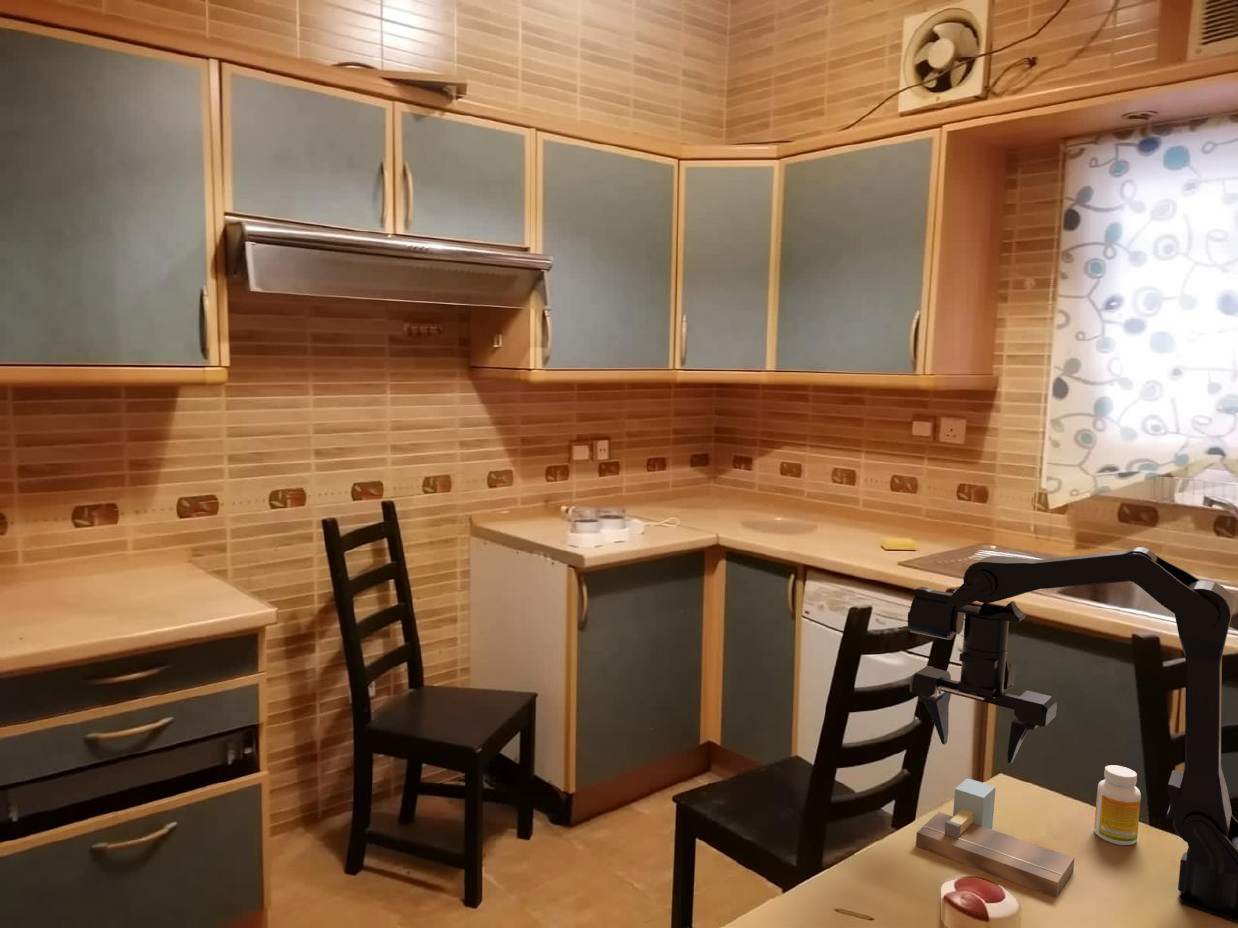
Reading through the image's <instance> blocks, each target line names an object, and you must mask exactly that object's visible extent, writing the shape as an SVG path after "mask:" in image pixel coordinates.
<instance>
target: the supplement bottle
mask: <svg viewBox="0 0 1238 928" xmlns="http://www.w3.org/2000/svg"><path fill="white" fill-rule="evenodd" d="M1103 773H1104V774H1103V776H1104V777H1103V778H1104V779H1103V780H1100V781H1099V782H1098V784H1097V793H1096V804H1095V814H1094V815H1095V816H1094V825H1093V827H1094V833H1095V835H1097V836H1098V837H1099V838H1101V839H1102V840H1104V841H1106V842H1108V843H1112V844H1114V845H1118V846H1119V845H1121V846H1130V845H1134V844H1135V843H1137V841H1138V834H1139V823H1140V822H1139V821H1140V811H1141V801H1142V800H1141V799H1142V794H1141V791H1140V789H1139V788H1138V787H1137V786H1136V785H1137V781H1138V774H1137V772H1136V771H1134V770H1132V769H1131V768H1128V767H1125V766H1122V765H1115V764H1113V765H1112V764H1111V765H1109V764H1108V765H1106V766H1105V767H1104V772H1103Z"/></svg>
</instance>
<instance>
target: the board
mask: <svg viewBox="0 0 1238 928" xmlns="http://www.w3.org/2000/svg"><path fill="white" fill-rule="evenodd" d="M952 818H953V815H950V814H946V813H944V812H941V811H938V812H937V813H935V814H934V815H933V816H932V817H931V818H930V819H929V820H928V821H927V822H926V823H925V824H924V825H922V827H921V828H920V829H918V830H917V831H916V836H915V837H916V838H915V847H917V848H920V849H923V850H926V851H928V852H930V853H934V854H936V855H939V856H942V857H945V858H948V859H949V860H953V861H955V862H958V863H961V864H962V865H963V864H964V865H966V866H969V867H972V868H975V869H977V870H979V871H982V872H985V873H988V874H991V875H993V876H996V877H998V878H1000V879H1004V880H1006V881H1010V882H1013V883H1015V884H1018V885H1020V886H1024V887H1026V888H1029V889H1031V890H1034V891H1037V892H1039V893H1042V894H1045V895H1048V896H1050V897H1052V898H1057V897H1058V896H1059V895H1060V893H1061V891H1062V890H1063V888H1064V887H1065V885H1066V884H1067V882H1068V881H1069V879H1070V878H1071V876H1072V875H1073V873H1074V867H1075V857H1074V856H1071V855H1068V854H1065V853H1062V852H1059V851H1056V850H1053V849H1051V848H1048V847H1044V846H1041V845H1038V844H1035V843H1032V842H1029V841H1026V840H1023V839H1020V838H1018V837H1014V836H1012V835H1009V834H1005V833H1002V832H999V831H996V830H994V829H992V828H991V829H988V828H985V827H982V826H979V825H976V824H973V823H972V824H971V825H970V826H969V827H968V828H967V829H966V830H965V831H964V832H962V833H961V834H960V838H959V839H955V838H952V837H949V836H947V835H945V822H946V821H947V820H949V821H950V820H951V819H952Z"/></svg>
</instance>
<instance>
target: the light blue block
mask: <svg viewBox="0 0 1238 928" xmlns="http://www.w3.org/2000/svg"><path fill="white" fill-rule="evenodd" d="M995 798H996V786H994V785H992V784H991V785H990V784H988V783H984V782H982V781H979V780H975V779H971V778H966V779H965V780H963V781H962V782H961V783H960V784H958V786H956V787H955V789H954V799H953V811H952V812H953V814H952V816H953V818H952V819H951V820H950V821H949V820H947V821H946V822H945V835H947V836H949V837H952V838H955V839H959V838H960V834H961V833H962V832H964V831H965V830H966V829H967V828H968V827H969V826H970V825H971V824H972V823H973V824H976V825H979V826H982V827H985V828H988V829H991V830H992V828H993V824H994V813H995Z"/></svg>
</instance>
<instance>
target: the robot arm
mask: <svg viewBox="0 0 1238 928" xmlns="http://www.w3.org/2000/svg"><path fill="white" fill-rule="evenodd" d="M1125 582H1132V583H1134V584H1135V585H1136V586H1138V587H1139V588H1141V589H1142V590H1143V591H1144V592H1145V593H1147V594H1148V595H1149V596H1150V597H1151V598H1153V600H1155V601H1156V602H1157V603H1159V604H1160V605H1161V606H1162V607H1164V608H1166V609H1167V610H1168V611H1170V612H1171V613H1173V614H1174V618H1175V623H1176V627H1177V633H1178V637H1179V642H1180V645H1181V648H1182V651H1183V654H1184V658H1185V687H1184V688H1185V691H1184V693H1185V695H1184V696H1185V700H1184V701H1185V705H1184V706H1185V707H1184V712H1185V713H1184V717H1185V718H1184V719H1185V720H1184V770H1183V772H1182V771H1178V770H1175V769H1172V771H1171V773H1170V777H1169V779H1168V783H1167V793H1168V799H1169V807H1168V810H1167V812H1166V818H1168V819H1171V818H1172V825H1173V829H1174V831H1175V833H1176V834H1177V835H1179V837H1180V838H1181V839H1182V840H1183V841H1184V842H1185V843H1187V846H1188V847H1187V850H1186V851H1185V852H1184V853H1183V854H1182V856H1181V857H1180V858H1181V859H1180V862H1179V863H1180V864H1179V874H1178V882H1177V884H1178V885H1177V890H1178V891H1179V892H1180V893H1181V894H1180V896H1179V902H1180V903H1181V904H1183V905H1186V906H1189V907H1192V908H1193V909H1194V908H1195V909H1198V910H1200V911H1203V912H1207V913H1210V914H1211V915H1212V914H1213V915H1215V916H1218V917H1221V918H1224V919H1227V920H1230V921H1233V922H1234V923H1235V922H1236V923H1238V820H1237V819H1236V817H1234V815H1233V814H1232V813H1233V812H1232V806H1231V800H1230V795H1229V791H1228V787H1227V782H1226V779H1225V775H1224V773H1223V768H1222V761H1221V760H1222V682H1223V681H1222V677H1223V675H1222V672H1223V671H1222V668H1223V663H1222V660H1223V654H1224V650H1225V646H1226V642H1227V637H1228V633H1229V629H1230V624H1231V620H1232V615H1233V611H1234V606H1235V605H1234V598H1233V596H1232V594H1231V593H1230V592H1229V590H1227V589H1226V587H1224V586H1223V585H1221V584H1218V583H1217V582H1215V581H1210V580H1200V579H1199V578H1197V577H1196V576H1194V575H1192V574H1191V573H1189V572H1188V571H1186V570H1185V569H1182V568H1180V567H1179V566H1177V565H1174V564H1172V563H1171V562H1169V561H1168V560H1166V559H1163V558H1162V557H1160V556H1158V555H1157V554H1156V553H1155V552H1154V551H1152V550H1150V548H1146V547H1139V546H1136V547H1132V548H1131V549H1127V550H1118V551H1109V552H1108V551H1107V552H1098V553H1089V554H1080V555H1069V556H1060V557H1053V558H1052V557H1051V558H1043V559H1035V558H1034V559H1033V558H1030V559H1029V558H1023V557H1018V556H1006V555H1005V556H1001V555H989V556H986V557H984V558H982V559H980V560H978V561H976V562H974V563H972V564H971V565H969V566H968V568H967V569H966V570H965V572H964V575H963V583H962V584H961V586H959V587H958V588H957V589H955V590H954V591H952V592H947V591H943V590H937V589H936V590H935V589H932V588H930V587H924V586H919V587H917V588H916V589H915V590H914V597H913V599H912V601H911V603H910V604H911V605H910V607H909V611H908V613H907V628H908V630H909V632H910V633H914V634H917V635H918V634H919V635H923V636H929V637H934V638H939V639H943V640H949V641H951V640H952V639H953V638H954V637H955V635H960V634H961V633H962V631H963V640H962V651H961V653H959V660H958V661H959V662H961V667H960V680H953V679H952V675H951V673H950V671H947V670H945V669H939V668H935V667H932V666H928V665H927V666H925V667H924V668H921V669H920V670H918V671H917V672H915V673H913V675H911V676H910V677H911V678H910V679H909V692H910V693H911V694H915V695H917V699H918V701H921V702H923V704H924V705H925V708H926V709H927V711H928V713H929V716H930V717H931V719H932V721H933V724H934V726H935V729H936V731H937V734H938V737H939V739H940V743H941V745H946V744H947V743H948V740H949V739H948V738H949V732H950V731H949V730H950V729H949V724H950V723H949V716H950V715H949V713H950V712H949V704H950V700H951V696H952V695H955V696H959V697H963V698H967V699H971V700H975V701H979V702H982V703H986V704H990V705H995V706H999V707H1003V708H1006V709H1010V710H1013V714H1014V715H1015V718H1014V719H1012V720H1011V722H1010V729H1009V737H1008V738H1009V739H1008V744H1007V745H1008V747H1007V755H1006V756H1007V757H1006V758H1007V764H1009V765H1010V764H1011V765H1012V763H1013V762H1014V760H1015V758H1016V755H1017V754H1018V751H1019V750H1020V747H1021V745H1022V743H1023V741H1024V739H1025V737H1026V735H1027V734H1028V732H1029V731H1035V730H1036V729H1037V728H1038V727H1046V726H1047V725H1049V723H1050V722H1051V721H1053V719H1054V718H1056V717H1057V709H1058V708H1057V707H1058V705H1057V700H1055V698H1054V697H1053V696H1052V695H1048V694H1044V693H1041V692H1037V691H1036V692H1035V691H1032V690H1025V691H1024V692H1023V693H1022V694H1020V696H1019V695H1016V694H1011V693H1006V692H1004V690H1005V691H1007V690H1009V689H1010V688H1014V686H1015V681H1016V675H1017V670H1018V666H1017V665H1015V664H1013V663H1010V661H1009V652H1007V650H1008V649H1007V648H1008V637H1009V635H1008V634H1009V624H1010V622H1012V623H1016V624H1017V623H1020V622H1021V621H1022V620H1024V619H1025V618H1026V613H1025V612H1024V611H1023V610H1022V609H1021V608H1020V607H1019V606H1017V604H1016V602H1015V601H1014V600H1012V601H1010V602H1009V603H1007V604H1006V605H1003V604H996V603H995V602H999V601H1003V600H1007V599H1012V598H1014V597H1017V596H1020V595H1024V594H1027V593H1030V592H1033V591H1037V590H1046V589H1055V588H1056V589H1058V588H1068V587H1069V588H1070V587H1081V586H1090V585H1091V586H1092V585H1102V584H1103V585H1104V584H1113V583H1125ZM974 602H979V603H981V606H978V605H977V606H976V605H971V604H973V603H974Z"/></svg>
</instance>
